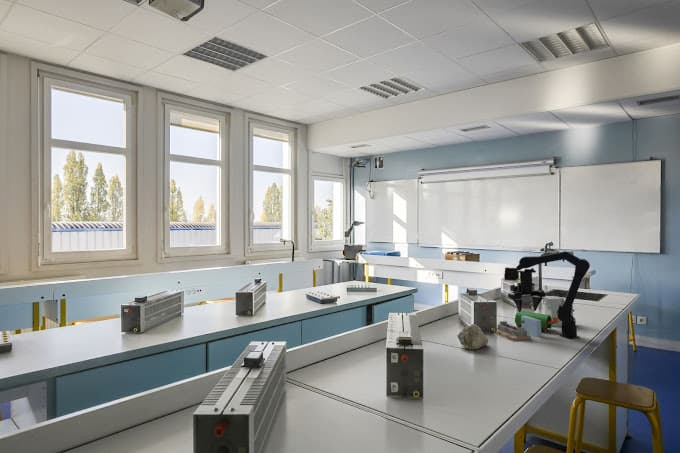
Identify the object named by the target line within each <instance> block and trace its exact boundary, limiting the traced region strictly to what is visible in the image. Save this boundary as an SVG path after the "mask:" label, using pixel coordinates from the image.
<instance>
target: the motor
mask: <svg viewBox="0 0 680 453" xmlns="http://www.w3.org/2000/svg"><path fill="white" fill-rule="evenodd" d="M521 316H528V317H531V318H534V319H538V320H541V331H543V332H546V331H548V330H552V329H553V328H552V327H553V326H552V324H556V323H558V322H559V319H558V318H556V317H553V321H552V318H551V316H550V315H546V314H545V313H539V312H538V313H537V312H531V311H524V310H521V312H519V311H518V310H517V311H516V313H515V315H514V323H515V327H518V328H521V327H522V325H521Z"/></svg>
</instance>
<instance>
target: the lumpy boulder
mask: <svg viewBox="0 0 680 453" xmlns="http://www.w3.org/2000/svg"><path fill="white" fill-rule="evenodd" d="M457 339H458V341H459V343H460V345H462V347H463V348H464V347H465V348H467V349H466V350H478V349H480V347H481V348H484V347H485V346H487V345H488V343H489V339H488V337H487V336H486V335H485V333H484V332H483V331H482V329H481V328H480V327H479V326H478V325H477V324H474V323H472V324H471V325H469V326H467V325H466V326H464V328H463V329H462V330H460V331H459V333H458V334H457ZM465 348H464V349H465Z"/></svg>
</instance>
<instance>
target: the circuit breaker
mask: <svg viewBox="0 0 680 453" xmlns="http://www.w3.org/2000/svg"><path fill="white" fill-rule="evenodd" d="M543 298H544V299H542V305H543V306H544V314H546V315H550V316H551V318H552V321H553V317H556V318H558V317H557V314H558V313H556V312H557V309H558V308H559V303H560V304H563V303H564V301H565V298H564V297H562V296H561V297H560V296H558V295H556V296H555V295H554V296H553V295H552V296H551V295H550V296H546V297H543ZM573 305H574V304H573ZM573 305H572V312H571V315H572V316H573V317H574V312H575V309H574V308H573V307H574V306H573ZM561 326H562V321H560V320H559V322H558V323H556V324H552V327H561Z"/></svg>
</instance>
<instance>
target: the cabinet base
mask: <svg viewBox="0 0 680 453" xmlns="http://www.w3.org/2000/svg"><path fill="white" fill-rule="evenodd" d="M496 328H497V331H496V333H497V334H499V335H501V336H500V337H502V336H503V337H502V338H504V337H506V338H505V339H507V338H508V339H507V340H509V339H510V341H511V340H518V341H525V340H528V339H529V340H532V335H530V334H528V333H527V331H526V330H525V328H524V327H517V326H516V325H513V324H510V323H508V321H507V320H504V321H502V320H501V321H499V324H497V327H496ZM497 334H496V335H497ZM499 335H498V336H499Z"/></svg>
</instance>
